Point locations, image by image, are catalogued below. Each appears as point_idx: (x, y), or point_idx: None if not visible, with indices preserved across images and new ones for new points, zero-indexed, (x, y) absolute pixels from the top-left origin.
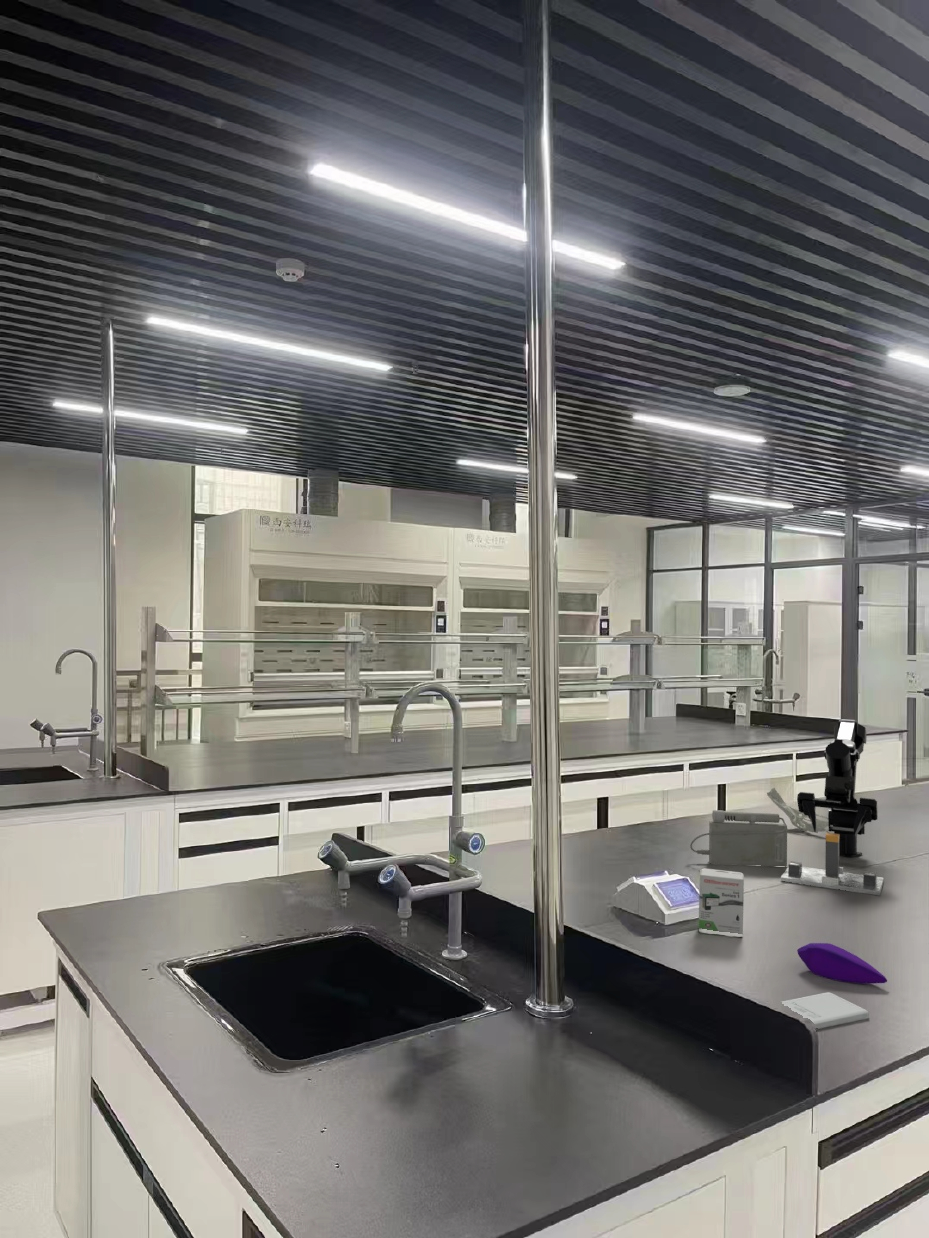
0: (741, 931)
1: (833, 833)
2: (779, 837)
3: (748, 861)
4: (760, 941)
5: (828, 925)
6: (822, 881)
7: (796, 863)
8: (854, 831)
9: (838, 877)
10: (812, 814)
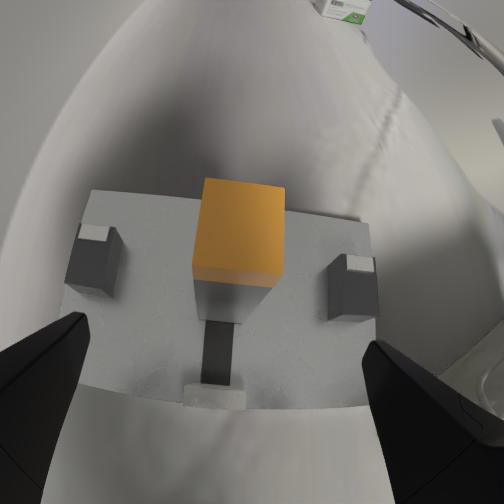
0: (316, 2)
1: (236, 265)
2: None
3: (464, 359)
4: (296, 3)
5: (231, 28)
6: None
7: (356, 288)
8: (71, 319)
9: None
10: (464, 411)
